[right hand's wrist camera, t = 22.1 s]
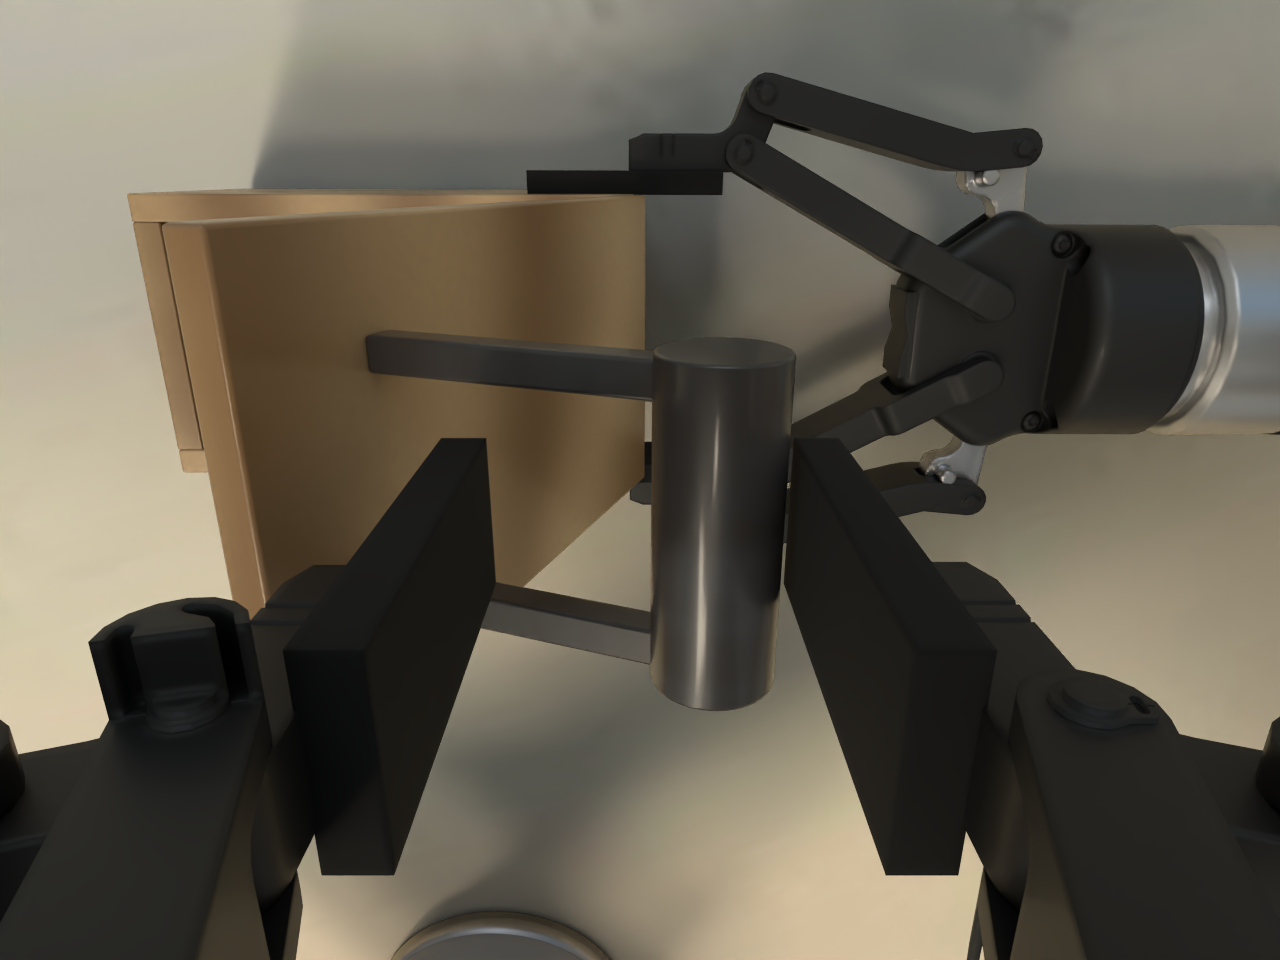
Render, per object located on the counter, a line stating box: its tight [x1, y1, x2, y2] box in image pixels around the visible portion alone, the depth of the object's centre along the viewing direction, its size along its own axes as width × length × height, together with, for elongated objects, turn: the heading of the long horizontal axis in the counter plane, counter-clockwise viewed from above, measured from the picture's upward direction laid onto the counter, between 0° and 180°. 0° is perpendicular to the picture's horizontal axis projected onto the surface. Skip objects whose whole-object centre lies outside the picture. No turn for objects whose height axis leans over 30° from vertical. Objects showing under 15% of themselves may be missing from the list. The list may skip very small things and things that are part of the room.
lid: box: [162, 195, 796, 711], centre depth 19 cm, size 17×10×8 cm
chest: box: [127, 189, 634, 472], centre depth 32 cm, size 16×10×9 cm, turn 90°
